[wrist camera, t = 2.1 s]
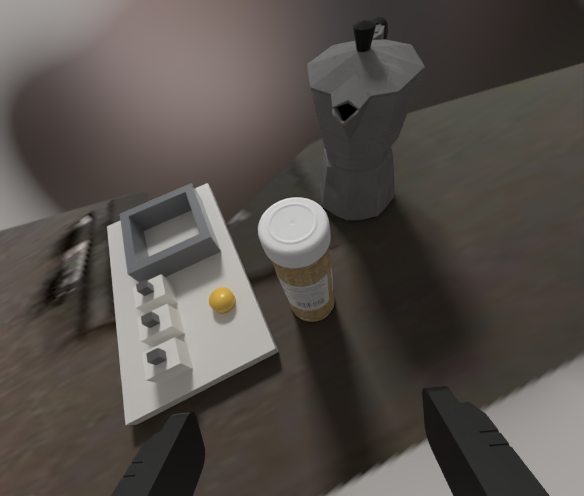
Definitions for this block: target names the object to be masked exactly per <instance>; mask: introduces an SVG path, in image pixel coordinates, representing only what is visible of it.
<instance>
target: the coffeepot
mask: <svg viewBox="0 0 584 496" xmlns="http://www.w3.org/2000/svg"><path fill="white" fill-rule="evenodd" d="M353 27H354V36H355V41H352V42H347V43H341V44H336V45H332V46H331V47H330V48H328V49H327V50H326V51H324V52H323V53H322V54H320V55H319V56H318V57H317V58H315V59H314V60H313V61H311V62H310V63H309V64H307V68H308V75H309V81H310V87H311V91H312V95H313V100H314V104H315V108H316V112H317V116H318V121H319V125H320V129H321V133H322V138H323V142H324V146H325V149H324V155H323V163H322V170H321V178H320V185H319V187H320V193H321V200H322V207H323V208H325V209H326V210H328V211H329V212H330V213H332V214H333V215H335V216H337V217H339V218H343V219H345V220H364V219H369V218H371V217H376V216H378V215H379V214H380V213H381V212H382V211H383V210H384V209H385V208H386V207H387V205H388V204H389V203H390V201H391V200H392V199H393V198H394V168H393V153H392V149H391V145H392V144H393V143H394V142H395V141H396V139H397V138H398V136H399V134H400V131H401V128H402V126H403V123H404V120H405V118H406V115H407V112H408V110H409V107H410V104H411V102H412V99H413V97H414V94H415V91H416V89H417V86H418V83H419V80H420V78H421V75H422V72H423V70H424V67H425V66H424V65H423V63H422V61H421V60H420V58H419V56H418V55H417V53H416V52H415V50H414V48H413V47H412V45H410V44H405V43H400V42H394V41H390V40H386V38H387V33H388V26H387V21H386V19H385V18H383V17H377V18H375V19H373V21H372V20H362V21H358V22H357V23H355V24H354V25H353Z"/></svg>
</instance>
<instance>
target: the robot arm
mask: <svg viewBox="0 0 584 496" xmlns="http://www.w3.org/2000/svg"><path fill="white" fill-rule="evenodd" d="M422 396H423V409H424V422H425V430H426V435H427V438H428V441H429V444H430V447H431V449H432V451H433V453H434V455H435V458H436V460H437V462H438V464H439V466H440V468H441V470H442V473H443V475H444V477H445V479H446V481H447V483H448V485H449V487H450V489H451V492H452V493H453V496H549V494H548V493H547V492H546V491H545V489H544V488H543V487H542V485H541V484H540V483H539V482H538V480H537V479H536V478H535V477H534V475H533V474H532V473H531V471H530V470H529V469H528V467H527V466H526V465H525V464H524V462H523V461H522V460H521V458H520V457H519V456H518V455H517V453H516V452H515V451H514V449H513V448H512V447H510V446H509V443H508V442H507V440H506V439H505V438H504V437H503V435H502V434H501V433H499V431H498V429H497V428H496V426H495V425H494V424H493V422H492V421H491V420H490V419H489V417H488V416H487V415H486V414H485V413H484V412H482V411H481V410H480V409H478V408H477V407H476V406H474V405H473V404H471V403H470V402H464V403H459V402H458V401H457V399H456V398H455V396H454V395H453V393H452V392H451V391H450V389H449V388H448V387H447V386H443V387H433V388H424V389H423V391H422ZM204 460H205V447H204V443H203V439H202V436H201V432H200V428H199V425H198V421H197V418H196V415H195V413H193V412H189V413H180V414H172V415H171V416H170V417H169V418H168V420H167V421H166V423H165V425H164V427H163V428H162V430H161V432H157V433H155V434H154V435H153V436H152V437H151V438H150V439H149V440H148V441H147V442H146V443H145V444H144V445H143V446H142V447H141V448H140V450H139V452H138V453H137V455H136V456H135V458H134V460H133V461H132V465H131V466H129V468H128V469H127V471H126V473H125V474H124V477H123V479H121V481H120V482H119V484H118V485H117V487H116V489H115V490H114V492H113V493H112V495H111V496H193V494H194V491H195V488H196V486H197V483H198V480H199V477H200V474H201V472H202V469H203V465H204Z"/></svg>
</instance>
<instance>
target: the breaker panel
mask: <svg viewBox="0 0 584 496" xmlns="http://www.w3.org/2000/svg"><path fill="white" fill-rule="evenodd" d="M120 220H121V221H119V222H116V223H114V224H112V225H109V226H107V230H108V241H109V252H110V262H111V273H112V284H113V294H114V305H115V316H116V327H117V337H118V348H119V359H120V369H121V380H122V391H123V401H124V412H125V423H126V425H137V424H139V423H141V422H143V421H145V420H147V419H149V418H151V417H153V416H155V415H157V414H159V413H161V412H163V411H164V410H166V409H168V408H170V407H172V406H174V405H176V404H178V403H180V402H182V401H184V400H186V399H188V398H190V397H192V396H194V395H196V394H198V393H200V392H202V391H203V390H205V389H207V388H209V387H211V386H213V385H215V384H217V383H219V382H221V381H223V380H225V379H227V378H229V377H231V376H233V375H235V374H237V373H239V372H240V371H242V370H244V369H246V368H248V367H250V366H252V365H254V364H256V363H258V362H260V361H262V360H264V359H266V358H268V357H270V356H272V355H274V354H276V353H277V352H279V351H278V349H277V346H276V344H275V341H274V339H273V337H272V334H271V332H270V329H269V327H268V325H267V322H266V320H265V317H264V315H263V313H262V310H261V308H260V305H259V303H258V300H257V298H256V296H255V293H254V291H253V288H252V286H251V284H250V281H249V279H248V276H247V274H246V272H245V269H244V267H243V264H242V262H241V260H240V257H239V255H238V252H237V250H236V247H235V245H234V243H233V240H232V238H231V235H230V233H229V231H228V228H227V226H226V223H225V221H224V219H223V216H222V214H221V211H220V209H219V207H218V204H217V202H216V199H215V197H214V195H213V192H212V190H211V188H210V186H209V185H208V184H205V185H202V186H200V187H198V188H196V189H195V188H194V186H193V185H192V183H191V184H188V185H186V186H184V187H181V188H179V189H177V190H175V191H172V192H170V193H167V194H165V195H163V196H160V197H158V198H156V199H154V200H151V201H149V202H146V203H144V204H142V205H139V206H137V207H135V208H132V209H130V210H128V211H125V212H123V213H121V214H120Z"/></svg>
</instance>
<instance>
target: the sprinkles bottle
mask: <svg viewBox="0 0 584 496" xmlns="http://www.w3.org/2000/svg"><path fill="white" fill-rule="evenodd" d="M258 235H259V238H260V241H261V244H262V246H263V248H264V251H265V253H266V255H267V256H268V257H269V258H270V259H271V260H272V263H273V265H274V267H275V270H276V273H277V276H278V278H279V280H280V283H281V285H282V287H283V290H284V292H285V294H286V296H287V298H288V300H289V302H290V306H291V309H292V311H293V312H294V314H295V315H296V316H297V317H298V318H300V319H302V320H304V321H308V322H316V321H319V320H322V319H324V318H325V317H327V316H328V315H329V314H330V312H331V311H332V309H333V307H334V301H335V298H334V294H333V279H332V270H331V265H330V255H329V244H330V226H329V220H328V216H327V214H326V212H325V211H324V209H323V208H322V207H321V206H320V205H319V204H317V203H316V202H314V201H312V200H309V199H306V198H288V199H284V200H281V201H279V202H277V203H275V204H274V205H272V206H271V207H269V208H268V209H267V210H266V212H265V213H264V214H263V215H262V217H261V219H260V222H259V226H258Z"/></svg>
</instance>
